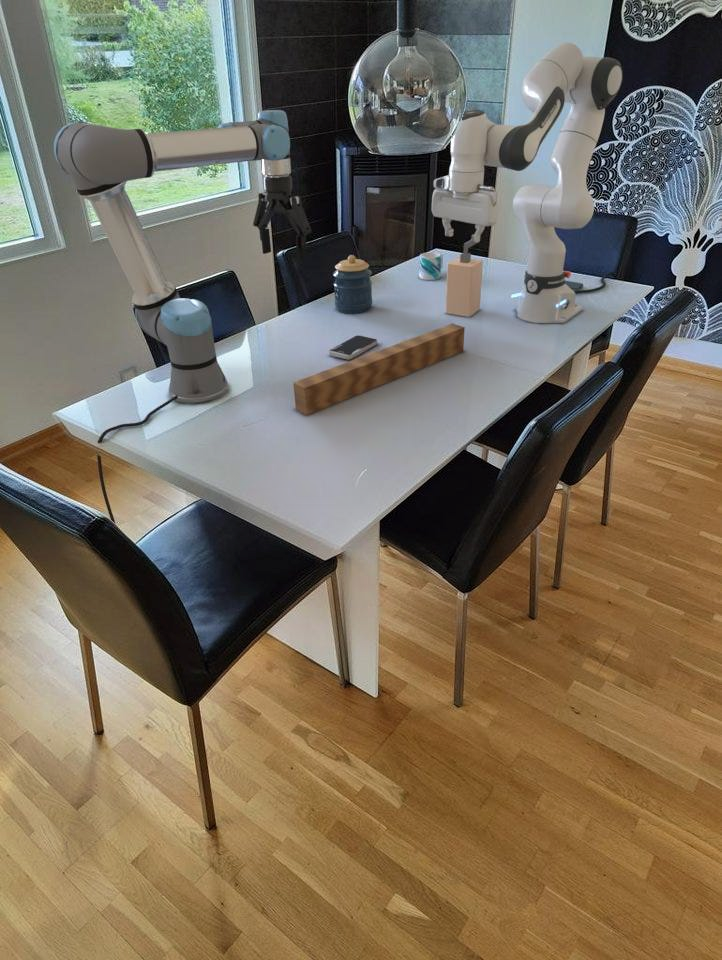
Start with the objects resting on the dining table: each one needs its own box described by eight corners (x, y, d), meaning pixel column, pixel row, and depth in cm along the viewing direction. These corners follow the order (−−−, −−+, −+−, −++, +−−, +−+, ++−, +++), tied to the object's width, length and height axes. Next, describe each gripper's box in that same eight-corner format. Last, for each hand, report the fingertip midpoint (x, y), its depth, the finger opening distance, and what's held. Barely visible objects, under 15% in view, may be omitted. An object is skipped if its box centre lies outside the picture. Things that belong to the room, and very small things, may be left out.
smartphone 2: (577, 289, 235) (536, 281, 242) (576, 293, 236) (535, 286, 243) (584, 283, 240) (544, 276, 247) (583, 287, 241) (543, 280, 248)
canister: (340, 315, 224) (337, 262, 214) (330, 304, 234) (327, 252, 224) (377, 311, 226) (376, 257, 217) (366, 299, 237) (364, 248, 227)
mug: (415, 278, 257) (415, 256, 252) (430, 270, 265) (430, 248, 261) (434, 281, 253) (435, 258, 248) (448, 272, 261) (449, 250, 257)
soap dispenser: (469, 317, 218) (472, 247, 206) (445, 313, 222) (447, 244, 210) (485, 305, 227) (489, 238, 215) (462, 302, 231) (465, 236, 219)
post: (306, 415, 164) (304, 388, 160) (295, 409, 167) (293, 382, 163) (463, 351, 195) (464, 327, 191) (451, 347, 198) (452, 323, 194)
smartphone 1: (378, 339, 201) (349, 356, 191) (378, 343, 202) (349, 360, 191) (357, 335, 205) (327, 351, 195) (357, 339, 206) (328, 355, 195)
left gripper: (321, 177, 177) (325, 259, 188) (254, 170, 190) (262, 247, 201) (302, 181, 172) (307, 265, 183) (235, 173, 185) (244, 252, 196)
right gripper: (505, 185, 167) (500, 243, 174) (445, 177, 180) (442, 231, 187) (489, 188, 163) (484, 247, 171) (429, 180, 177) (426, 234, 184)
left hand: (283, 256), depth 192 cm, fingers open, 13 cm apart
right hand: (462, 238), depth 179 cm, fingers open, 8 cm apart
